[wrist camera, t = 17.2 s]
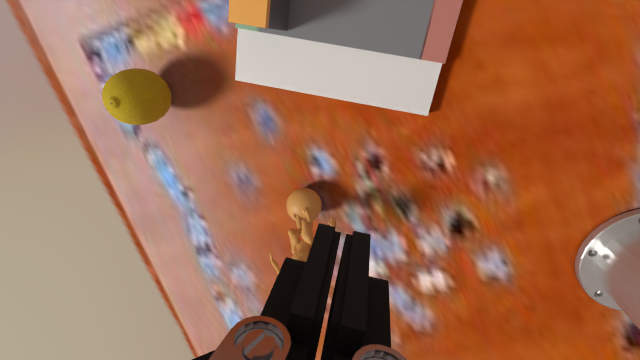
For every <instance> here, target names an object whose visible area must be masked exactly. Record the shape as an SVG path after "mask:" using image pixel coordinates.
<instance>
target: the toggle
mask: <svg viewBox="0 0 640 360" xmlns="http://www.w3.org/2000/svg"><path fill="white" fill-rule="evenodd" d="M289 7H290V0H229V20H228V22H233V23H239V24H245V25H250V26H256V27H262V28H269V29H276V30H284V31H287V26H288V16H289Z"/></svg>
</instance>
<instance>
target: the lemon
mask: <svg viewBox="0 0 640 360" xmlns="http://www.w3.org/2000/svg"><path fill="white" fill-rule="evenodd" d="M102 98H103V103H104V106H105V107H106V109H107V111H108V112H109V113H110V114H111V115H112V116H113V117H114V118H116V119H117V120H119V121H121V122H124V123H127V124H132V125H144V124H148V123H152V122H155V121H157V120H158V119H160V118H161V117H163V116H164V115H165V114H166V112H167V111H168V110H169V107H170V105H171V92H170V89H169V87H168V85H167V83H166V82H165V81H164V80H163V79H162V78H161V77H160V76H159V75H157V74H156V73H154V72H151V71H149V70H145V69H136V68H135V69H128V70H123V71H121V72H119V73H117V74H115V75H113V76H112V77H111V78H110V79H109V80H108V81H107V82H106V83H105V85H104V87H103V91H102Z"/></svg>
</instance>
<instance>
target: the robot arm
mask: <svg viewBox="0 0 640 360" xmlns="http://www.w3.org/2000/svg"><path fill="white" fill-rule="evenodd" d="M340 235H341V233H340V232H336V231H335V227H334V226H329V225H325V224H320V223H319V225H318V228H317V231H316V234H315V237H314V240H313V243H312V246H311V249H310V252H309V255H308V258H307V261H306V262H305V261H300V260H296V259H292V258H286V259H285V260H284V263H283V265H282V267H281V269H280V272H279V274H278V276H277V279H276V281H275V283H274V285H273V288H272V290H271V292H270V295H269V297H268V299H267V301H266V304H265V306H264V308H263V311H262V313H261V315H260V316H253V317H249V318H245V319H243V320H242V321H240V322H238V323H237V324H236V325H235V326H234V327H233V328H232V329H231V330H230V331H229V333H228V334H227V335H226V337H225V338H224V339H223V341H222V342H221V343H220V345H219V346H218V347H217V349H216V350H214V351H212V352H209V353H207V354H205V355H202V356H200V357H197V358H195V359H192V360H315V357H316V352H317V347H318V343H319V338H320V333H321V328H322V323H323V319H324V314H325V309H326V304H327V299H328V294H329V289H330V284H331V279H332V274H333V270H334V265H335V260H336V255H337V250H338V245H339V240H340ZM369 257H370V234H366V233H361V232H357V231H354V232H353V235H349V234H346V237H345V242H344V246H343V251H342V256H341V260H340V265H339V270H338V274H337V279H336V283H335V288H334V293H333V297H332V302H331V307H330V312H329V317H328V323H327V328H326V334H325V339H324V344H323V350H322V355H321V360H406V358H405V357H403V356H402V355H401V354H400V353H399V352H397V351H395V350H393V349H391V334H390V308H389V284H388V281H387V280H382V279H378V278H374V277H369ZM575 272H576V277H577V279H578V281H579V283H580V285H581V286H582V288H583V289H584V290H585V291H586V293H587V294H588V295H589V296H590V297H591V298H592V299H594V300H595V301H597V302H598V303H600V304H602V305H604V306H607V307H609V308H612V309H616V310H620V311H624V312H625V313H626V314H627V316H628V317H629V318H630V319H631V320H632V321H633V322H634V323H635V324H636V325H637V327H638V328H639V329H640V209H637V210H633V211H629V212H625V213H623V214H620V215H618V216H615V217H613V218H611V219H610V220H608V221H606V222H604V223H603V224H601V225H600V226H599V227H597V228H596V229H595V230H594V231H592V232H591V234H590V235H589V236H588V237H587V238H586V239H585V240H584V242H583V243H582V245H581V247H580V248H579V250H578V253H577V256H576V260H575Z"/></svg>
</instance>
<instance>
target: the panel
mask: <svg viewBox="0 0 640 360" xmlns="http://www.w3.org/2000/svg"><path fill="white" fill-rule="evenodd" d="M462 2H463V0H290V7H289V16H288V26H287V31H284V30H276V29H269V28H262V27H256V26H250V25H245V24H239V23H236V26H235V28H238V39H237V57H236V75H235V80H238V81H243V82H249V83H254V84H259V85H265V86H270V87H275V88H281V89H286V90H292V91H297V92H302V93H308V94H313V95H318V96H324V97H329V98H335V99H340V100H345V101H351V102H356V103H361V104H367V105H372V106H377V107H383V108H388V109H394V110H399V111H404V112H410V113H415V114H420V115H426V116H428V113H429V109H430V106H431V102H432V99H433V95H434V92H435V88H436V84H437V81H438V77H439V74H440V70H441V67H442V63H443V64H445V62H446V58H447V55H448V51H449V48H450V44H451V41H452V37H453V34H454V30H455V27H456V23H457V20H458V16H459V13H460V9H461V6H462Z"/></svg>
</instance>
